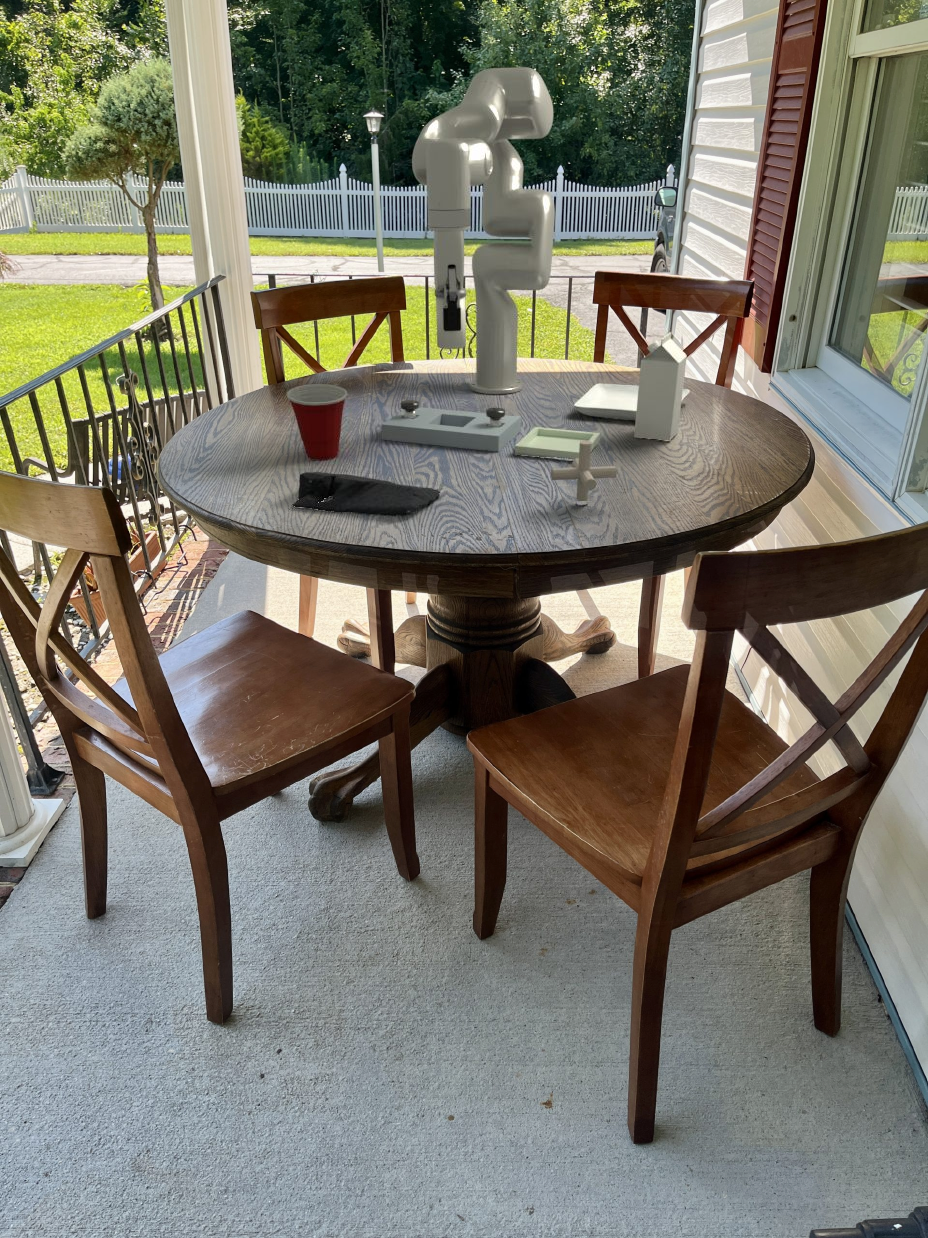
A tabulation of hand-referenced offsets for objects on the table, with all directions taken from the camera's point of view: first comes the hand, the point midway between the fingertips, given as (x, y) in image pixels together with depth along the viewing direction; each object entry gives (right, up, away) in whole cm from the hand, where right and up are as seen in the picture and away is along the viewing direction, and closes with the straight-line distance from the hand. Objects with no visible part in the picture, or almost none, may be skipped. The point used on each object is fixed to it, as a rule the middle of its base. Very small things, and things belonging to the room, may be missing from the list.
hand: (451, 326), depth 157 cm
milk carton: (+40, -19, +9) cm, 45 cm away
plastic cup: (-24, -25, -1) cm, 34 cm away
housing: (0, -18, +10) cm, 21 cm away
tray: (+20, -22, +2) cm, 30 cm away
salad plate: (+39, -10, +25) cm, 47 cm away
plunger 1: (-8, -16, +12) cm, 22 cm away
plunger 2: (+8, -19, +7) cm, 22 cm away
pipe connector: (+21, -36, -23) cm, 48 cm away
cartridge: (0, -3, +2) cm, 4 cm away
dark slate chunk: (-13, -36, -21) cm, 44 cm away
